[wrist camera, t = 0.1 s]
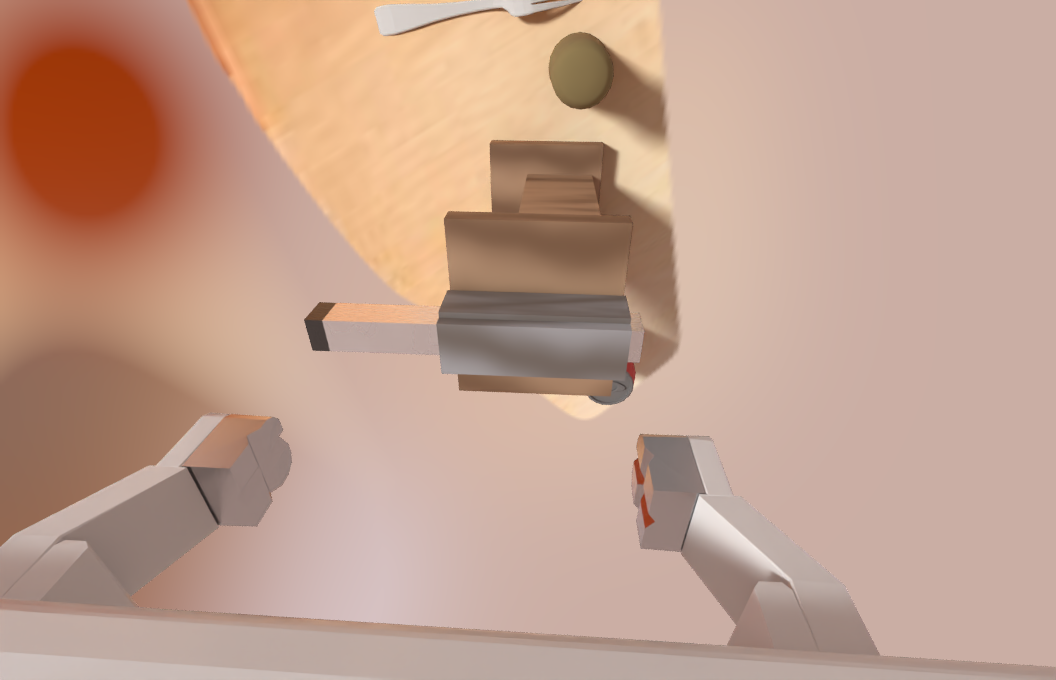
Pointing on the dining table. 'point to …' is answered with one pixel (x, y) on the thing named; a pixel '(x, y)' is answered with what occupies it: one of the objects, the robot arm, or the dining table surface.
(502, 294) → the tube stand
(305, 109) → the dining table surface
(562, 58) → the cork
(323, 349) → the grey bar
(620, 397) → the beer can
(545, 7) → the fork
